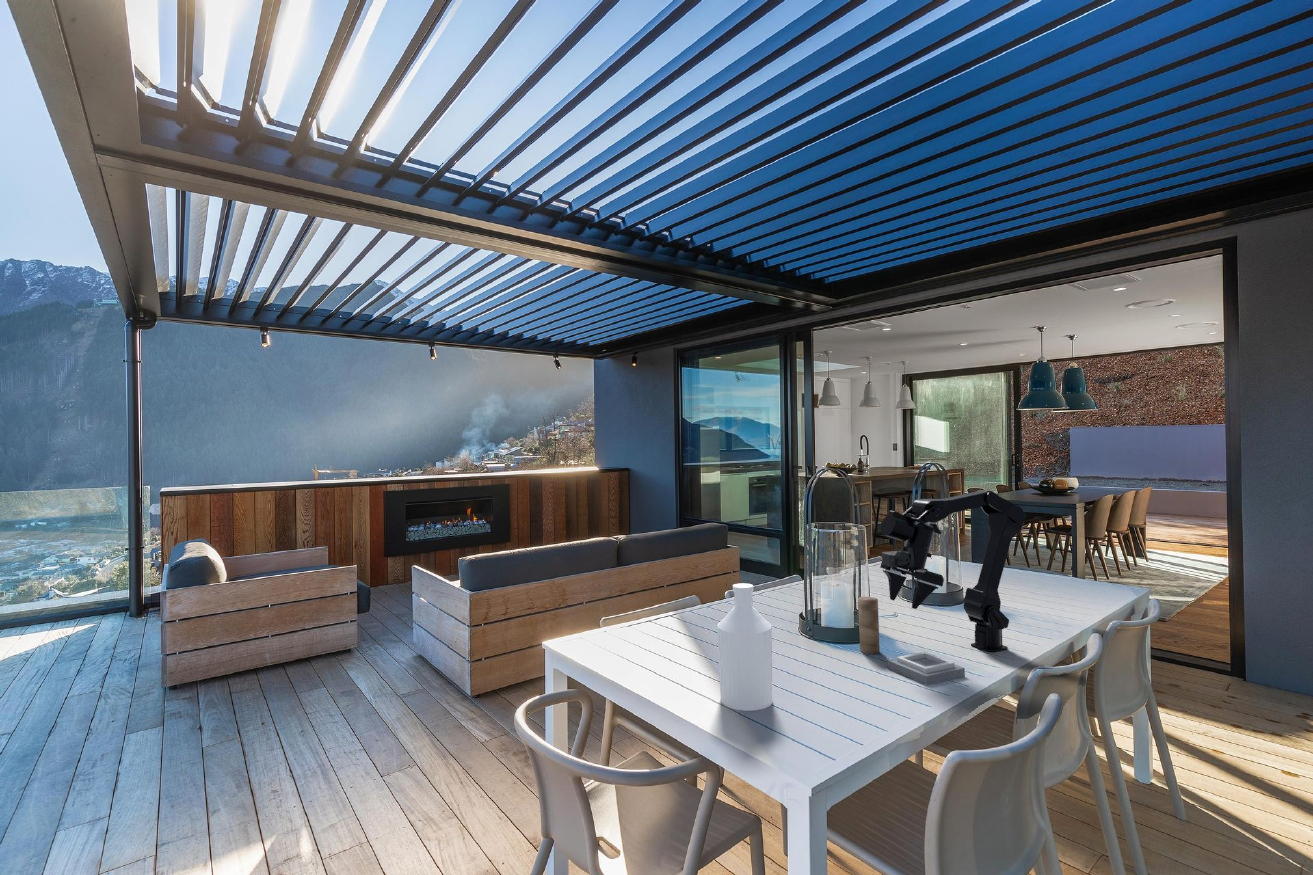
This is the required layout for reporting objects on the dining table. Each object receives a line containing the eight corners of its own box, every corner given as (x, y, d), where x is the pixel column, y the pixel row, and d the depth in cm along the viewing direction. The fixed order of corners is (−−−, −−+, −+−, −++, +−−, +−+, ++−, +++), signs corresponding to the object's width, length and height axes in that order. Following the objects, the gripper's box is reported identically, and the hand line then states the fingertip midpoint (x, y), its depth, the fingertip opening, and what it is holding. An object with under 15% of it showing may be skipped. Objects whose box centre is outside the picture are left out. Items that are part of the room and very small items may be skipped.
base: (924, 660, 155) (924, 648, 155) (964, 676, 143) (964, 663, 144) (888, 668, 150) (887, 656, 150) (926, 685, 139) (926, 671, 139)
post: (870, 647, 166) (868, 595, 167) (883, 652, 162) (882, 599, 162) (856, 649, 164) (854, 597, 165) (869, 655, 160) (867, 601, 160)
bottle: (708, 700, 133) (705, 586, 134) (741, 685, 142) (738, 577, 142) (752, 716, 125) (748, 594, 126) (784, 698, 133) (781, 584, 134)
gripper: (871, 533, 167) (856, 588, 165) (914, 542, 149) (898, 605, 147) (905, 544, 169) (891, 598, 168) (952, 554, 151) (936, 616, 149)
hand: (902, 604), depth 158 cm, fingers open, 9 cm apart
